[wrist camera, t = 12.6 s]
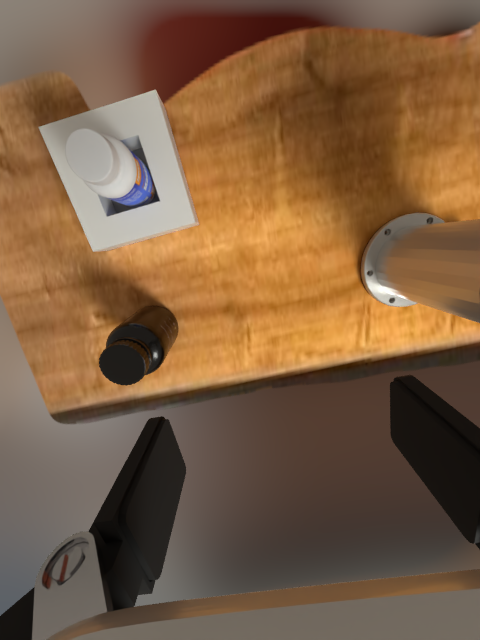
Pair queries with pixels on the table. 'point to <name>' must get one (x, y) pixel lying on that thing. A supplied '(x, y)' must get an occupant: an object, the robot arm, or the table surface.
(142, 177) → the pill bottle
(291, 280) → the table surface
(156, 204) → the housing
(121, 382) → the supplement bottle
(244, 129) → the table surface
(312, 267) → the table surface
